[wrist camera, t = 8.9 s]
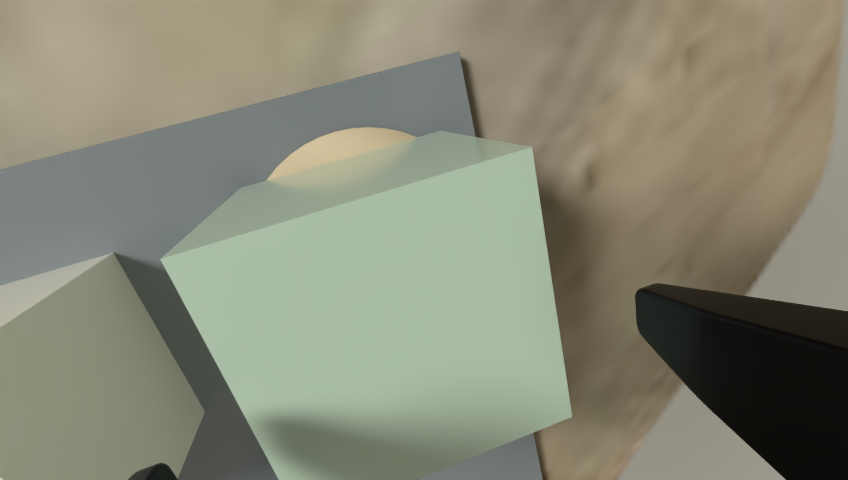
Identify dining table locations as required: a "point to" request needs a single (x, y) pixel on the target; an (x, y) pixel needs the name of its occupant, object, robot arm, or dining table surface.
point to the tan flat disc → (338, 148)
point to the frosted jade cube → (382, 308)
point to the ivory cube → (88, 379)
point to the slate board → (197, 199)
